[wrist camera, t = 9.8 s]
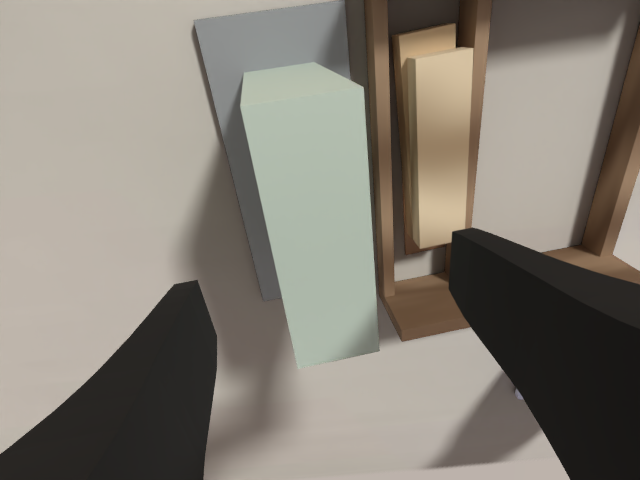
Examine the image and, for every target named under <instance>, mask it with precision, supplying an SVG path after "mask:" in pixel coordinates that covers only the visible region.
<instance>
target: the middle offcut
mask: <svg viewBox="0 0 640 480" xmlns="http://www.w3.org/2000/svg"><path fill="white" fill-rule="evenodd" d="M392 48H393V61H394V73H395V86H396V99H397V112H398V125H399V137H400V150H401V163H402V176H403V185H404V198H405V211H406V223H407V234H408V235H409V236H410V238H411V239H412V240H413V223H412V193H411V163H410V133H409V103H408V73H407V57H411V56H416V55H422V54H427V53H432V52H438V51H443V50H448V49H454V48H456V23H445V24H440V25H436V26H431V27H427V28H422V29H418V30H413V31H409V32H404V33H400V34H395V35H392ZM413 241H414V240H413Z"/></svg>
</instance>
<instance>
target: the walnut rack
mask: <svg viewBox="0 0 640 480" xmlns="http://www.w3.org/2000/svg"><path fill="white" fill-rule="evenodd" d="M491 9H492V0H460V9H459V27H458V44H457V48H459V47H467V48H474V49H473V70H472V91H471V112H470V133H469V155H468V176H467V197H466V218H465V229H467V228H471V225H472V214H473V203H474V192H475V182H476V171H477V160H478V149H479V138H480V128H481V117H482V106H483V95H484V84H485V73H486V63H487V52H488V41H489V30H490V19H491ZM364 10H365V29H366V49H367V68H368V88H369V107H370V126H371V146H372V165H373V185H374V204H375V223H376V243H377V262H378V281H379V296H380V298H381V300H382V302H383V304H384V306H385V308H386V310H387V312H388V314H389V317H390V319H391V321H392V323H393V325H394V327H395V329H396V331H397V333H398V335H399V337H400V339H401V341H402V342H403V341H407V340H412V339H417V338H421V337H426V336H431V335H436V334H440V333H445V332H450V331H454V330H459V329H464V328H468V327H471V326H470V325H469V324H468V322H467V321H466V319H465V318H464V316H463V315H462V313H461V311H460V309H459V308H458V306H457V304H456V302H455V300H454V298H453V297H452V295H451V293H450V291H449V289H448V288H449V272H450V257H451V242H450V243H446V258H445V272H442V273H437V274H432V275H427V276H422V277H417V278H412V279H407V280H402V281H397V282H394V243H393V204H392V165H391V125H390V86H389V46H388V7H387V0H364ZM639 169H640V25H639V29H638V33H637V36H636V40H635V44H634V48H633V51H632V55H631V59H630V63H629V66H628V70H627V74H626V78H625V82H624V85H623V89H622V93H621V97H620V100H619V104H618V108H617V112H616V116H615V119H614V123H613V127H612V131H611V134H610V138H609V142H608V146H607V149H606V153H605V157H604V161H603V165H602V168H601V172H600V176H599V180H598V183H597V187H596V191H595V195H594V199H593V202H592V206H591V210H590V214H589V217H588V221H587V225H586V229H585V232H584V236H583V240H582V244H581V245H577V246H572V247H567V248H562V249H557V250H552V251H547V252H542V253H543V254H545V255H548V256H551V257H553V258H556V259H559V260H562V261H564V262H567V263H570V264H573V265H576V266H579V267H582V268H585V269H588V270H591V271H594V272H598V273H601V274H604V275H608V276H611V277H615V278H619V279H622V280H626V281H630V282H633V283H637V284H640V271H638V270H637V269H635V268H633V267H632V266H630V265H628V264H627V263H625V262H624V261H622V260H620V259H619V258H617V257H616V256H614V255H612V254H613V251H614V248H615V244H616V241H617V238H618V235H619V232H620V229H621V226H622V222H623V219H624V216H625V213H626V210H627V207H628V204H629V200H630V197H631V194H632V191H633V188H634V185H635V182H636V178H637V175H638V172H639Z"/></svg>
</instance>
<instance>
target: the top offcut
mask: <svg viewBox="0 0 640 480" xmlns="http://www.w3.org/2000/svg"><path fill="white" fill-rule="evenodd" d="M473 49H474V48H467V47H459V48H454V49H448V50H443V51H438V52H432V53H427V54H422V55H416V56H411V57H407V73H408V103H409V133H410V163H411V193H412V223H413V240H414V242H415V243H416V244H417V246H418V247H419V248H420V249H422V248H427V247H432V246H436V245H441V244H446V243H450V242H451V241H452V231H457V230H462V229H465V218H466V197H467V176H468V155H469V133H470V112H471V91H472V70H473Z"/></svg>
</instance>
